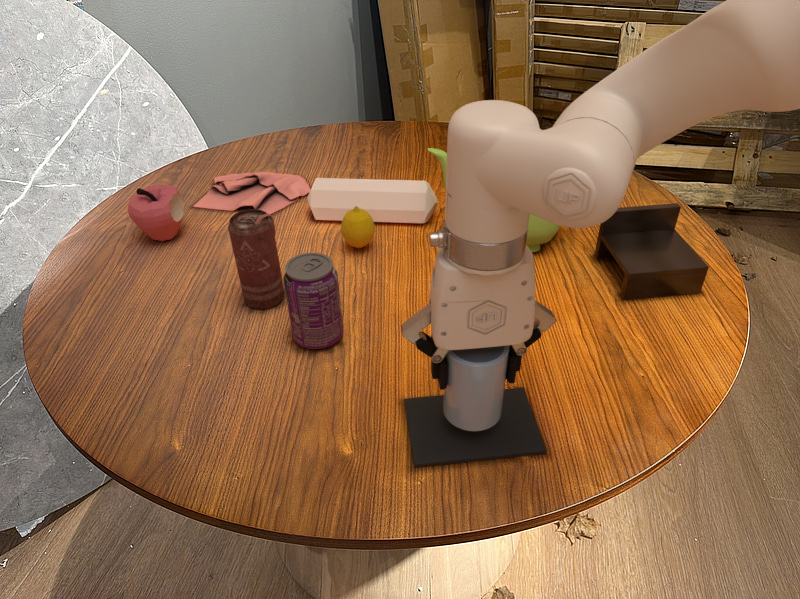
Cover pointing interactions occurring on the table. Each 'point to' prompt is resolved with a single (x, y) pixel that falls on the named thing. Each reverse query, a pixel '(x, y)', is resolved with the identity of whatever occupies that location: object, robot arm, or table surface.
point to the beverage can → (313, 300)
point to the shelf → (650, 252)
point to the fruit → (357, 227)
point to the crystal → (373, 199)
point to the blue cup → (475, 387)
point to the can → (256, 258)
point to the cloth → (254, 192)
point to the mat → (471, 433)
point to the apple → (157, 211)
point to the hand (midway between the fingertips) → (474, 376)
